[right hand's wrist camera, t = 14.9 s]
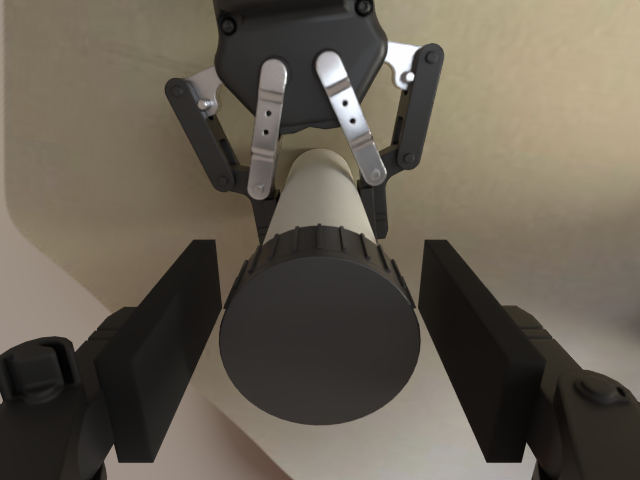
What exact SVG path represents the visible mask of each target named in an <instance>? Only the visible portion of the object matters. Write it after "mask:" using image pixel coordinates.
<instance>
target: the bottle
mask: <svg viewBox="0 0 640 480" xmlns="http://www.w3.org/2000/svg"><path fill="white" fill-rule="evenodd" d="M318 223H321V225H325V226H334V227H339V228H340V226H344V229H348V230H350V231H353V232H356V233H358V234H361V233H363V234H364V235H365V237H366V238H368V239H369V240H371V241H372V242H373V243H375V244H376V245H377V243H376V240H375V237H374V234H373V232H372V229H371V226H370V223H369V221H368V218H367V215H366V212H365V210H364V207H363V204H362V201H361V199H360V196H359V193H358V190H357V188H356V185H355V182H354V179H353V177H352V174H351V171H350V168H349V166H348V164H347V163H346V161H345V160H344V159H343V158H342V157H341V156H340V155H339V154H337V153H336V152H334V151H331V150H328V149H323V148H317V149H312V150H309V151H306V152H304V153H303V154H301V155H300V156H299V157H298V158H297V159H296V160H295V161H294V163H293V164H292V166H291V168H290V171H289V174H288V177H287V179H286V182H285V185H284V188H283V190H282V193H281V196H280V199H279V201H278V204H277V207H276V209H275V212H274V215H273V218H272V220H271V223H270V226H269V229H268V231H267V234H266V237H265V240H264V242H263V245H264V244H265V243H266V242H267V241H269V240H270V239H272V238H274V235H275V234H277V233H278V234H282V233H284V232H287V231H289V230H292V229H295V226H299V228H300V227H306V226H317V224H318ZM377 246H378V245H377Z"/></svg>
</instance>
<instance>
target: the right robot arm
mask: <svg viewBox="0 0 640 480" xmlns="http://www.w3.org/2000/svg"><path fill="white" fill-rule="evenodd" d="M221 309H222V302H221V292H220V282H219V273H218V263H217V253H216V243H215V240H193V241H192V242H191V243H190V244H189V246H188V247H187V248H186V249H185V250H184V252H183V253H182V254H181V255H180V257H179V258H178V259H177V260H176V261H175V263H174V264H173V265H172V266H171V267H170V269H169V270H168V271H167V272H166V273H165V275H164V276H163V277H162V278H161V279H160V281H159V282H158V283H157V284H156V285H155V287H154V288H153V289H152V290H151V291H150V293H149V294H148V295H147V296H146V297H145V299H144V300H143V301H142V302H141V303H140V305H139V306H138V307H123V308H122V309H120V310H118V311H117V312H115V313H113V314H112V315H110V316H108V317H107V318H106V319H105V320H104V322H103V323H102V324H101V325H100V326H99V327H98V328H97V331H94V332H93V333H92V335H91V336H90V337H89V338H88V341H85V342H84V343H83V344H82V345H81V346H80V347H79V349H78V350H77V351H76V352H75V351H74V348H73V344H72V342H71V341H70V340H68V339H67V338H63V337H56V336H53V337H43V338H38V339H34V340H31V341H27V342H24V343H22V344H20V345H17V346H15V347H13V348H10V349H9V350H7V351H6V352H4V353H3V354H1V355H0V393H1V396H2V399H3V402H2V404H0V480H107V474H106V468H105V464H104V460H105V458H106V456H107V454H108V453H109V451H110V449H111V447H112V446H113V444H114V446H115V450H116V454H117V458H118V462H119V463H153V462H154V460H155V457H156V455H157V453H158V451H159V449H160V446H161V444H162V442H163V440H164V437H165V435H166V433H167V431H168V428H169V426H170V424H171V421H172V419H173V417H174V415H175V412H176V410H177V408H178V406H179V403H180V401H181V399H182V397H183V395H184V392H185V390H186V388H187V385H188V383H189V381H190V379H191V377H192V374H193V372H194V370H195V368H196V365H197V363H198V361H199V359H200V356H201V354H202V352H203V350H204V347H205V345H206V343H207V341H208V338H209V336H210V334H211V332H212V329H213V327H214V325H215V323H216V320H217V318H218V316H219V314H220V311H221ZM418 309H419V311H420V314H421V316H422V318H423V320H424V323H425V325H426V327H427V329H428V332H429V334H430V336H431V338H432V341H433V343H434V345H435V347H436V350H437V352H438V354H439V356H440V359H441V361H442V363H443V365H444V368H445V370H446V372H447V374H448V377H449V379H450V381H451V383H452V386H453V388H454V390H455V392H456V395H457V397H458V399H459V401H460V404H461V406H462V408H463V410H464V413H465V415H466V417H467V419H468V422H469V424H470V426H471V428H472V431H473V433H474V435H475V437H476V439H477V442H478V444H479V446H480V448H481V451H482V453H483V455H484V457H485V460H486V462H487V463H521V462H522V458H523V454H524V450H525V446H526V442H527V444H528V445H529V447H530V449H531V451H532V452H533V454H534V456H535V457H536V459H537V460H536V464H535V468H534V472H533V475H532V479H531V480H640V402H638V401H637V400H636V398H635V397H634V396H633V394H632V393H631V392H630V391H629V390H628V389H627V388H625V387H624V386H623V385H621V384H620V383H619V382H617V381H615V380H613V379H611V378H609V377H607V376H605V375H603V374H599V373H596V372H593V371H590V370H583V369H582V368H581V367H580V366H579V365H578V364H577V363H576V362H575V361H574V360H573V358H572V357H571V356H570V355H569V354H568V353H567V352H566V351H565V350H564V349H563V348H562V347H561V346H560V345H559V343H558V342H557V341H556V340H555V339H552V336H551V335H550V334H549V333H548V332H547V331H546V329H543V326H542V325H541V324H540V323H539V322H538V321H537V320H536V319H535V318H534V317H533V316H532V315H531V314H529V313H527V312H526V311H524V310H522V309H521V308H519V307H517V306H501V305H500V303H499V302H498V301H497V300H496V299H495V297H494V296H493V295H492V294H491V293H490V291H489V290H488V289H487V288H486V287H485V285H484V284H483V283H482V282H481V281H480V279H479V278H478V277H477V276H476V275H475V273H474V272H473V271H472V270H471V269H470V267H469V266H468V265H467V264H466V263H465V261H464V260H463V259H462V258H461V256H460V255H459V254H458V253H457V252H456V250H455V249H454V248H453V247H452V246H451V244H450V243H449V242H448V241H447V240H425V243H424V253H423V263H422V273H421V283H420V292H419V302H418Z"/></svg>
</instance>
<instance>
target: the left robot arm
mask: <svg viewBox="0 0 640 480" xmlns="http://www.w3.org/2000/svg"><path fill="white" fill-rule="evenodd" d="M213 5H214V10H215V15H216V20H217V26H218V32H219V42H218V48H217V52H216V55H215V60H214V65H213V66H211V67H209V68H207V69H205V70H203V71H201V72H199V73H197V74H194V75H192V76H190V77H188V78H186V79H183V78H173V79H170V80H169V81H168V82H167V83H166V85H165V94H166V97H167V98H168V100H169V102H170V104H171V106H172V108H173V110H174V112H175V114H176V116H177V118H178V120H179V121H180V123H181V125H182V127H183V129H184V131H185V133H186V135H187V137H188V139H189V141H190V143H191V144H192V146H193V148H194V150H195V152H196V154H197V156H198V158H199V160H200V162H201V164H202V166H203V168H204V169H205V171H206V173H207V175H208V177H209V179H210V181H211V183H212V185H213V186H214V188H215V189H216V190H218V191H220V192H227V191H232V192H237V193H241V194H244V195H246V196H247V197H248V198H249V199H250V200H251V202H252V206H253V211H254V216H255V221H256V226H257V232H258V237H259V242H260V245H261V246H262V245H263V242H264V240H265V237H266V234H267V231H268V229H269V226H270V223H271V220H272V218H273V215H274V212H275V209H276V207H277V204H278V201H279V199H280V196H281V195H280V190H276V189H275V183H274V182H275V177H276V171H277V164H278V158H279V152H280V148H281V143H282V137H283V135H284V134H292V133H296V132H299V131H301V130H303V129H306V128H308V127H314V128H321V129H331V128H338V127H341V128H342V131H343V133H344V135H345V137H346V140H347V142H348V144H349V146H350V149H351V151H352V153H353V155H354V158H355V160H356V162H357V164H358V167H359V173H360V180H357V190H358V193H359V196H360V199H361V201H362V204H363V207H364V210H365V212H366V215H367V218H368V221H369V223H370V226H371V229H372V232H373V234H374V237H375V240H376V243H377V239H384V238H385V237H386V234H387V231H388V221H387V206H386V192H385V187H386V183H387V181H388V179H389V178H390V177H391V176H393V175H394V174H397V173H399V172H401V171H403V170H411V169H414V168H415V167H416V166H417V165H418V164H419V162H420V159H421V155H422V150H423V146H424V142H425V138H426V133H427V129H428V125H429V120H430V116H431V112H432V108H433V103H434V99H435V95H436V91H437V86H438V82H439V78H440V74H441V69H442V65H443V61H444V52H443V49H442V48H441V47H440V46H439V45H438V44H434V43H431V44H427V45H423V46H416V45H410V44H403V43H397V42H391V41H388V40H387V36H386V34H385V32H384V30H383V29H382V27H381V26H380V24H379V21H378V19H377V16H376V12H375V6H374V0H213ZM383 63H385V64H387V65H388V66H389V67H390V69H391V72H392V83H393V85H394V86H395V87H396V88H397V89H399V90H402V92H401V97H400V102H399V107H398V112H397V116H396V121H395V126H394V131H393V136H392V141H391V146H389V147H387V148H385V149H383V150H381V151H379V152H378V150H377V147H376V145H375V143H374V140H373V136H372V134H371V131H370V129H369V126H368V124H367V122H366V119H365V117H364V114H363V112H362V110H361V107H360V104H361V102H362V100H363V99H364V97H365V95H366V93H367V91H368V90H369V88H370V86H371V84H372V82H373V81H374V79H375V77H376V75H377V73H378V72H379V70H380V68H381V66H382V64H383ZM224 85H225V86H226V87H227V88H228V89H229V90H230V91H231V92H232V93H233V94H234V96H235V97H236V98H237V99H238V100H239V101H240V102H241V103H242V104H243V105H244V106H245V107H246V108H247V109H248V110H249V111H250V112H251V113H252V114H253V115H254V117H255V124H254V131H253V139H252V146H251V155H252V156H251V164H250V167H247V166H242V165H240V163H239V161H238V159H237V157H236V155H235V153H234V151H233V149H232V147H231V145H230V143H229V141H228V139H227V137H226V135H225V133H224V131H223V129H222V127H221V124H220V122H219V120H218V118H217V116H216V114H218V113H219V112H220V110H221V108H222V101H221V98H220V91H221V88H222V87H223V86H224Z"/></svg>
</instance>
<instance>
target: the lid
mask: <svg viewBox="0 0 640 480" xmlns="http://www.w3.org/2000/svg"><path fill="white" fill-rule="evenodd" d="M414 308H416V306H415V303H414V301H413V299H412V297H411V294H410V292H409V290H408V287H407V285H406V283H405V281H404V278H403V276H401V274H400V272H399V269H398V267H397V265H396V262H395V261H394V259H392V260H391V259H390V258H389V257H388V256H387V254H386V253H385V252H384V251H383V248H382V246H381V245H380V244H379V245H378V246H377V245H376V244H375V243H373V242H372V241H371V240H369V239H368V238H366V237H365V235H364V234H363V233H361V234H358V233H356V232H353V231H350V230H348V229H344V226H340V228H339V227H334V226H325V225H321V223H318V224H317V226H306V227H300V228H299V226H295V229H292V230H289V231H287V232H284V233H282V234H278V233H277V234H275V235H274V238H272V239H270V240H269V241H267V242H266V243H265V244H264V245H262V246H261V245H259V246H257V249H256V251H255V253H254V254H253V255H252V256H251V258H250V259H249V260H248V261H247V260H245V262H244V264H243V266H242V268H241V270H240V273H239V275H238V277H237V278H236V280H235V282H234V284H233V287H232V289H231V291H230V293H229V296H228V298H227V300H226V303H225V305H224V308H223V309H226V310H225V313H224V316H223V318H222V321H221V325H220V332H219V347H220V355H221V358H222V362H223V365H224V368H225V370H226V372H227V374H228V376H229V378H230V380H231V381H232V383H233V384H234V386H235V387H236V388H237V389H238V390H239V392H240V393H241V394H242V395H243V396H244V397H245V398H246V399H248V400H249V401H250V402H251V403H252V404H254V405H255V406H257V407H258V408H260V409H261V410H263V411H265V412H267V413H269V414H271V415H273V416H275V417H278V418H280V419H283V420H287V421H290V422H294V423H300V424H307V425H333V424H340V423H345V422H350V421H353V420H356V419H359V418H362V417H364V416H367V415H369V414H371V413H373V412H375V411H376V410H378V409H380V408H382V407H383V406H384V405H386V404H387V403H388V402H390V401H391V400H392V399H393V398H394V397H395V396H396V395H397V394H398V393H399V392H400V391H401V390H402V389H403V387H404V386H405V385H406V384H407V382H408V380H409V379H410V377H411V375H412V374H413V371H414V369H415V366H416V364H417V361H418V356H419V352H420V342H421V340H420V328H419V323H418V320H417V317H416V314H415V312H414Z"/></svg>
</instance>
